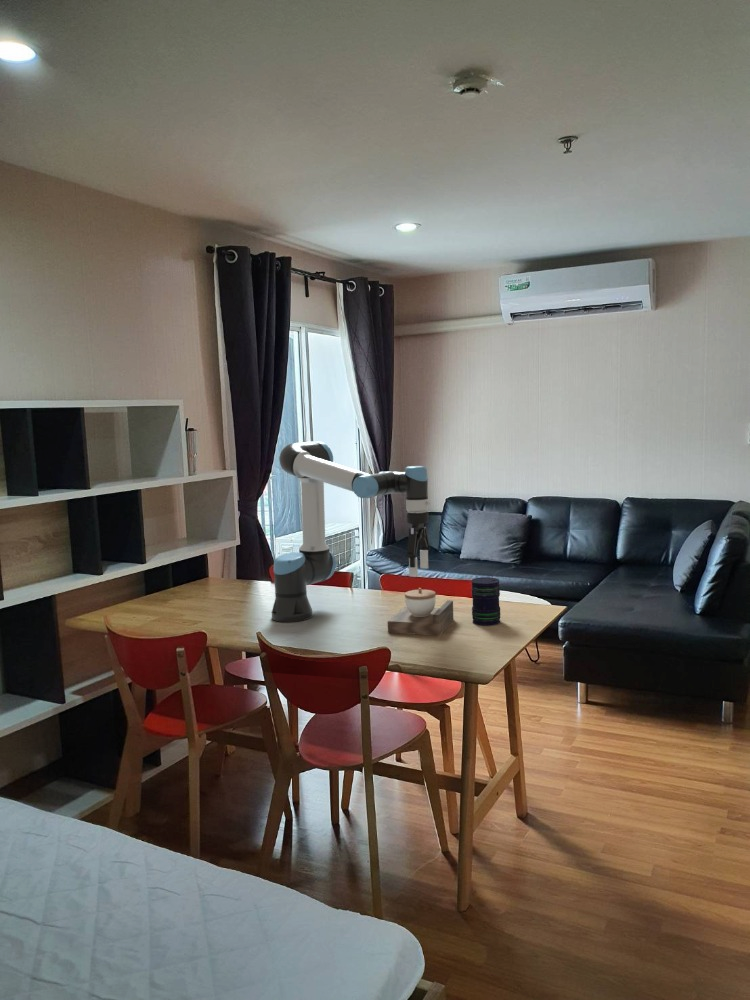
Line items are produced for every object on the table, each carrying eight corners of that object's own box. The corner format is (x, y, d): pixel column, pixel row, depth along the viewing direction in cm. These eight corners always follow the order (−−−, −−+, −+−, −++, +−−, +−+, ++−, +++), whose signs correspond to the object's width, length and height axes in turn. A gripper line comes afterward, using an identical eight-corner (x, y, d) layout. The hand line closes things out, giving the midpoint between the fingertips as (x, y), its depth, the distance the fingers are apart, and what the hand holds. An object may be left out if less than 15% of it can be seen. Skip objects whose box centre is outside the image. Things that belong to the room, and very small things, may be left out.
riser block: (388, 632, 261) (387, 612, 261) (405, 617, 280) (404, 598, 279) (439, 635, 255) (438, 614, 255) (453, 619, 274) (452, 600, 273)
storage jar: (471, 626, 265) (470, 583, 263) (472, 618, 275) (471, 577, 273) (501, 626, 264) (500, 583, 262) (500, 618, 273) (499, 577, 272)
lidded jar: (434, 619, 261) (433, 591, 260) (403, 618, 263) (402, 591, 262) (438, 611, 271) (437, 584, 270) (408, 610, 274) (407, 584, 273)
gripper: (417, 516, 250) (419, 580, 253) (437, 506, 274) (438, 565, 276) (395, 516, 253) (397, 579, 255) (416, 506, 276) (418, 564, 279)
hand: (419, 572), depth 266 cm, fingers open, 13 cm apart
